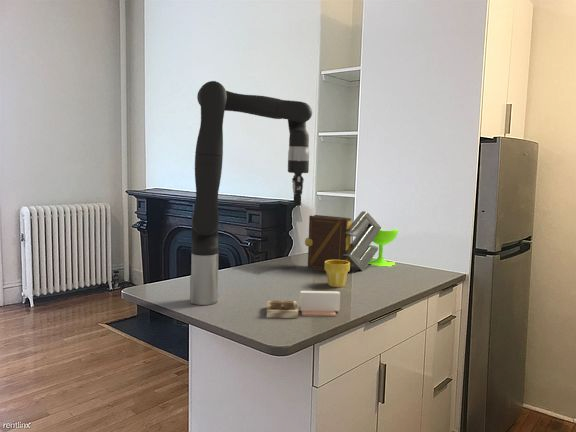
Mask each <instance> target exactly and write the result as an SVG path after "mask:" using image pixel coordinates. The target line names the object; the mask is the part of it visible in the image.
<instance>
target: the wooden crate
mask: <svg viewBox="0 0 576 432" xmlns="http://www.w3.org/2000/svg"><path fill="white" fill-rule="evenodd" d="M308 217H309V218H308V221H309V222H308V237H306V238H305V239H304V245H305V246H306V247H308V248H307V250H308V251H307V269H310V270H314V271H322V272H326V270H325V261H327V260H345V261H348V260H347V259H346V258H345V257H344V256H343V253H344V252H345V251H346V250H347V249H348V247H349V246H350V244H351V237H352V236H349V235H347V234H346V233H345V231H346V230H347V229H348V227H349V226H350V225H351V224H352V218H351V217H345V216H344V217H342V216H334V215H333V216H332V215H331V216H330V215H320V214H314V215H309V216H308ZM348 262H349V261H348ZM348 272H349V273H350V271H348Z"/></svg>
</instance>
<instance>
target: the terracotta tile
mask: <svg viewBox="0 0 576 432" xmlns="http://www.w3.org/2000/svg"><path fill="white" fill-rule="evenodd" d="M300 312H301V316H303V317H305V316H306V317H307V316H308V317H336V316H337V313H336V311H303V310H300Z"/></svg>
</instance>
